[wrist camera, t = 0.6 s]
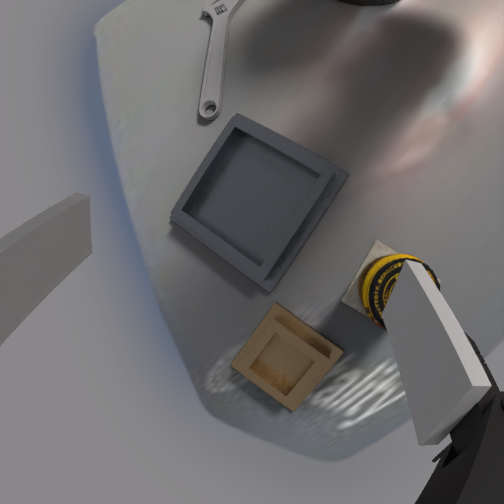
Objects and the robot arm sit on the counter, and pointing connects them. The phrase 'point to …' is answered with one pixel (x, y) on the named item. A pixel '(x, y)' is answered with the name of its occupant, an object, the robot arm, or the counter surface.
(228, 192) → the large collar
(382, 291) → the condiment
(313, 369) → the small brown compartment box
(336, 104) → the counter surface
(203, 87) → the adjustable wrench
